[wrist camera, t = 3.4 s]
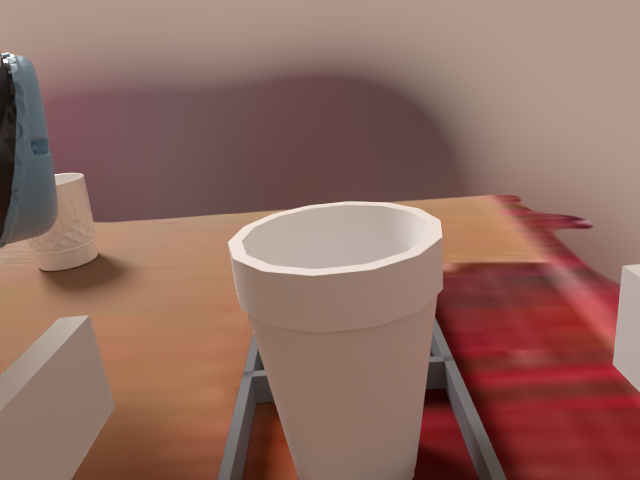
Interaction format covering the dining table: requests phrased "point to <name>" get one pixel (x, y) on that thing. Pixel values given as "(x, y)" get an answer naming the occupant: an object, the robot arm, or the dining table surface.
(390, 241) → the foam cup
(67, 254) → the white cup
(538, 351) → the dining table surface
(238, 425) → the grey flat rectangular tray
